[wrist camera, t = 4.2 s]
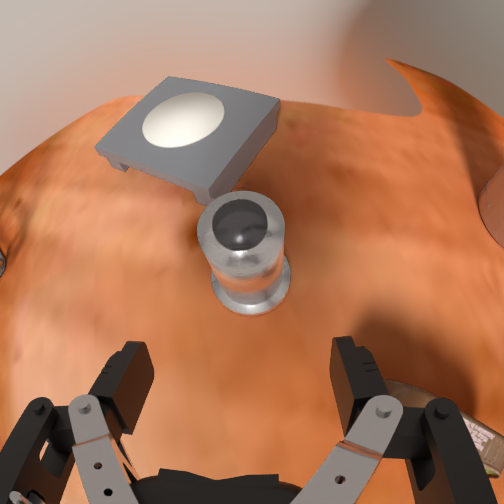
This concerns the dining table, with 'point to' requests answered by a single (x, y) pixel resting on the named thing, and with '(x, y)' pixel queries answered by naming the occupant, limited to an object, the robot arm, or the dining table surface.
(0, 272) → the geometric lantern
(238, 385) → the dining table surface
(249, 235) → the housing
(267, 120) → the stand
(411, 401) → the tin
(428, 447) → the robot arm
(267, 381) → the dining table surface
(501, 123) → the dining table surface
